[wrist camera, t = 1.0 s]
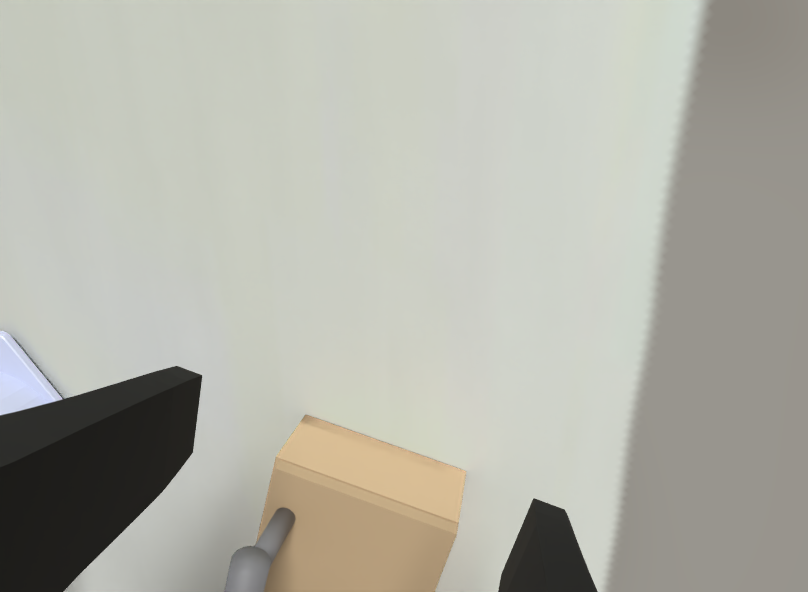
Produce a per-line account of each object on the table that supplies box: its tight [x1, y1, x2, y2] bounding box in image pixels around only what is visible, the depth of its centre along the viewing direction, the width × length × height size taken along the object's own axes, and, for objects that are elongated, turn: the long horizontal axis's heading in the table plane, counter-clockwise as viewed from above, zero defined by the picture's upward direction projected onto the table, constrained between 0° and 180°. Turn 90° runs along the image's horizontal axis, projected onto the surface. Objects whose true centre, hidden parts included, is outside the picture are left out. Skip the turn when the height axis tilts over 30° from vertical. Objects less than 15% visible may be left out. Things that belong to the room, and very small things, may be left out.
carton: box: [256, 415, 466, 543], centre depth 24 cm, size 7×13×3 cm, turn 164°
